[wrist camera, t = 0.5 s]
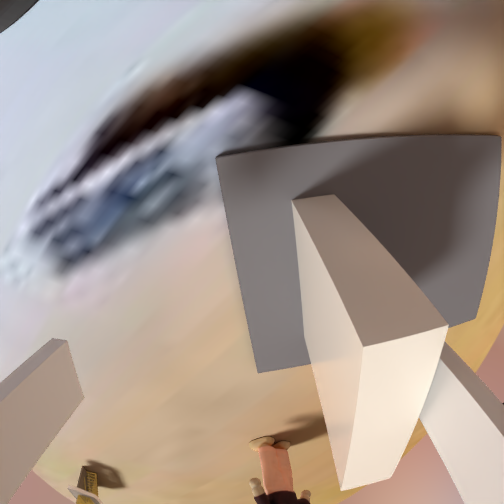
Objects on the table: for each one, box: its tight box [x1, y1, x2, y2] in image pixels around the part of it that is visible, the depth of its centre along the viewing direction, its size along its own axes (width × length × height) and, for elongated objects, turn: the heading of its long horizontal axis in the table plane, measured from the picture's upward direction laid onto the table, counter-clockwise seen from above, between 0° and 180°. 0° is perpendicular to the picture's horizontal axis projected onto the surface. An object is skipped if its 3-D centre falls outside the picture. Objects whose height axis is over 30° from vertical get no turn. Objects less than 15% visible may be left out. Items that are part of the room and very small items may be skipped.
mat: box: [215, 134, 501, 373], centre depth 20 cm, size 16×20×1 cm
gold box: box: [68, 466, 103, 504], centre depth 31 cm, size 12×18×7 cm, turn 172°
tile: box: [291, 194, 449, 491], centre depth 15 cm, size 10×3×12 cm, turn 9°
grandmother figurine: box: [249, 436, 311, 504], centre depth 24 cm, size 8×4×13 cm, turn 62°
